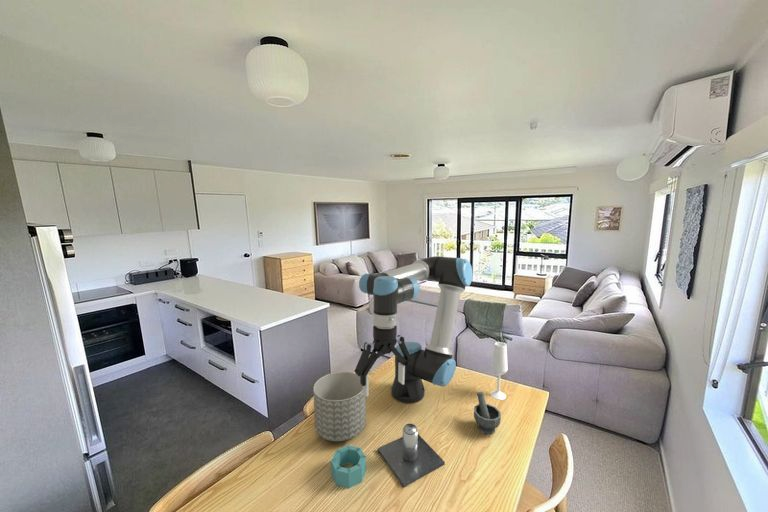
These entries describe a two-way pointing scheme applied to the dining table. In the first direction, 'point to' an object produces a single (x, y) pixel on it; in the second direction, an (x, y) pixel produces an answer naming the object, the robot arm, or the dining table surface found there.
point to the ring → (353, 474)
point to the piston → (410, 456)
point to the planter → (339, 406)
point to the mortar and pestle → (486, 415)
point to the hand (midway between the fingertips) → (384, 388)
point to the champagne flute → (499, 367)
